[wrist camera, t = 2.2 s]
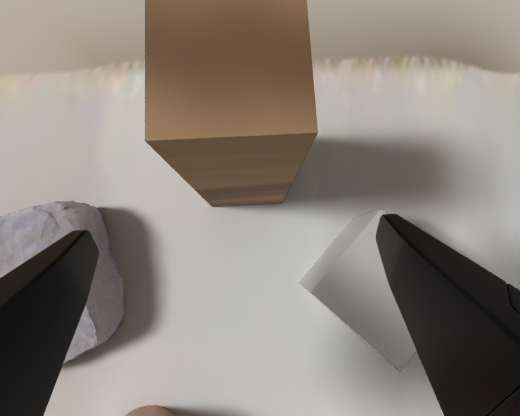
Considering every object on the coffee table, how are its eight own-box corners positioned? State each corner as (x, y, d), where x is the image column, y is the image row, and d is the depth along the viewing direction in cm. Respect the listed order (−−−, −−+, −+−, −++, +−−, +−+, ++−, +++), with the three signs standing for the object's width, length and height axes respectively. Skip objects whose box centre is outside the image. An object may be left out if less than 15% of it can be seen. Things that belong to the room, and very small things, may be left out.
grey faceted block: (419, 275, 21) (468, 282, 16) (365, 342, 20) (400, 372, 16) (352, 218, 22) (381, 208, 17) (298, 282, 21) (311, 292, 16)
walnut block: (281, 203, 22) (317, 132, 9) (211, 206, 22) (145, 141, 9) (277, 136, 22) (305, -20, 10) (209, 139, 22) (145, -13, 9)
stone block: (146, 321, 22) (102, 191, 22) (118, 357, 18) (60, 192, 17) (-10, 369, 22) (-60, 240, 21) (-81, 419, 17) (-149, 255, 17)
